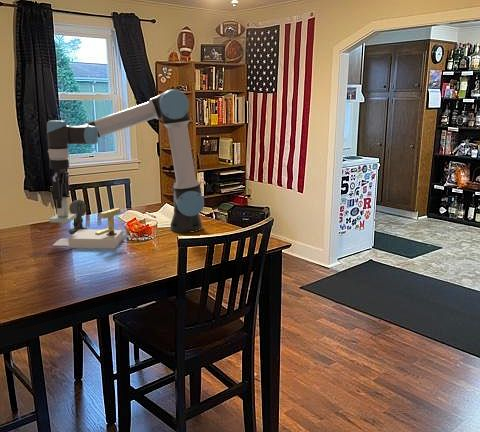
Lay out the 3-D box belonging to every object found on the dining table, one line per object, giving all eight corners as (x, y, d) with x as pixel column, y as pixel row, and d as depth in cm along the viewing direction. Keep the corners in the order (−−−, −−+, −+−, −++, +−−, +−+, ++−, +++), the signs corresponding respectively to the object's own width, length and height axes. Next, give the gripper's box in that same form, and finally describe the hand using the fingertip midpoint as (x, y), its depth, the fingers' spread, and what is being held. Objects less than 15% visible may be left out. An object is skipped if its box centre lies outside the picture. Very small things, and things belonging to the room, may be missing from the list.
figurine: (86, 234, 214) (84, 202, 210) (64, 233, 214) (62, 201, 211) (92, 229, 222) (90, 198, 219) (71, 228, 223) (69, 197, 219)
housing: (123, 238, 209) (122, 229, 208) (114, 248, 195) (114, 239, 194) (80, 237, 209) (79, 228, 208) (68, 247, 195) (68, 238, 194)
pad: (78, 239, 207) (78, 238, 207) (70, 246, 197) (69, 245, 197) (61, 238, 207) (61, 238, 207) (52, 245, 197) (52, 245, 197)
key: (117, 230, 206) (116, 208, 203) (121, 231, 205) (120, 208, 202) (95, 238, 194) (93, 214, 191) (99, 239, 193) (98, 215, 190)
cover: (76, 217, 204) (74, 195, 201) (68, 222, 195) (67, 200, 193) (57, 216, 204) (56, 195, 201) (49, 222, 195) (47, 199, 193)
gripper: (57, 156, 201) (61, 209, 207) (41, 161, 185) (45, 219, 190) (75, 156, 201) (78, 209, 207) (60, 161, 185) (64, 219, 190)
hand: (62, 214), depth 199 cm, fingers closed on cover, 4 cm apart
